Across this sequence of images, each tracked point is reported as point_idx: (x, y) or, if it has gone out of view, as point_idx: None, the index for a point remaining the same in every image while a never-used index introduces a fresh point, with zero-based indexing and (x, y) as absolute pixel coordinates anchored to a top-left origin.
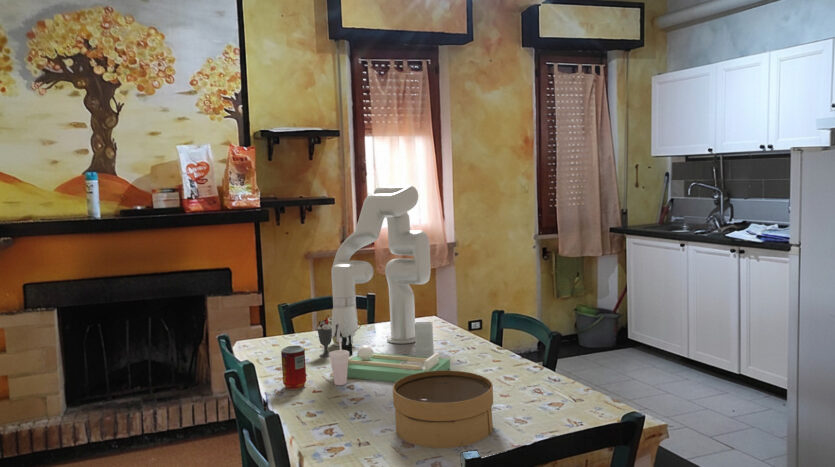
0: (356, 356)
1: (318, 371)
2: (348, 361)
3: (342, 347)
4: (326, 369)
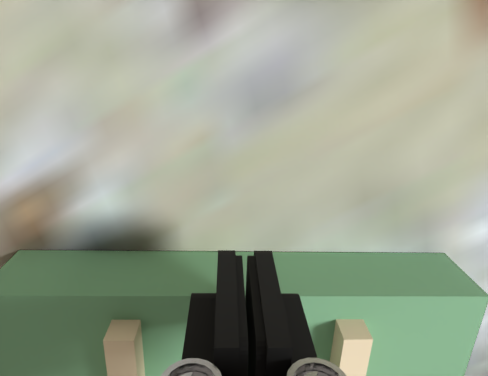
0: (334, 310)
1: (56, 28)
2: (109, 355)
3: (185, 348)
4: (140, 74)
